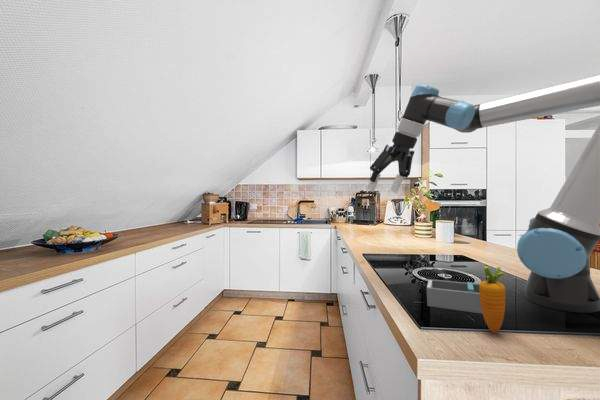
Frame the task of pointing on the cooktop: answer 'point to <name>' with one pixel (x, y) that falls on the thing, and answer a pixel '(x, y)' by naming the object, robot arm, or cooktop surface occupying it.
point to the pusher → (470, 287)
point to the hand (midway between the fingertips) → (382, 190)
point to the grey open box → (453, 296)
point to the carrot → (492, 300)
